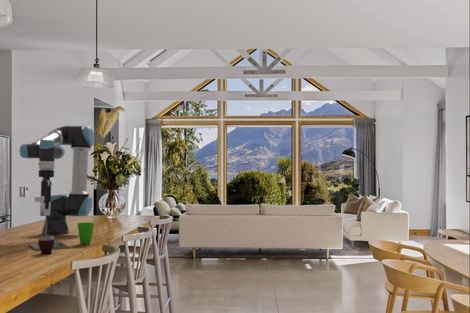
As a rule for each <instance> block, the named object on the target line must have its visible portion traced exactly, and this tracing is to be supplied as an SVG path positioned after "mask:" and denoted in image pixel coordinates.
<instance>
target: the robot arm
mask: <svg viewBox="0 0 470 313" xmlns="http://www.w3.org/2000/svg"><path fill="white" fill-rule="evenodd" d="M95 140H96V138H95V133H94V130H93V128H92V127H91V126H88V125H63V126H60V127H57V128H54V129H52V130H51V131H49V132H48V133H47V135H45V136H42V137H41V138H39V139H37V140H36V141H33V142H32V143H23V144H21V145H20V146H19V147H20V148H19V155H20V157H21V158H22V159H38V163H37V165H38V169H39V170H38V177H39V178H42V180H41V182H40V197H41V196H44V201H43V202H45V203H44V211H43V215H49V205H50V203H49V202H50V201H51V207H50V216H45V221H44V224H43V227H42V230H41V233H42V234H43V235H45V227H46V223H47V233H46V235H50V236H52V235H66V234H69V232H70V229H69V224H68V223H67V217H79V218H80V217H87V216H88V215H90V213H91V211H92V208H93V198H92V197H91V196H90V193H89V192H88V191H87V189H88V186H87V184H88V165H89V164H88V163H89V161H88V159H89V151H91V149H92V146H94V145H95ZM63 146H70V149H71V150H72V151H73V153H72V156H73V157H72V175H71V178H72V179H71V191H70V192H69V193H68V196H67V194H66V193H63V194H54V195H52V181H51V178H54V177H55V170H54V169H55V161H56V160H58V159H59V160H60V159H62V158H63V157H64V155H65V152H66V151H65V149H64V147H63Z"/></svg>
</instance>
